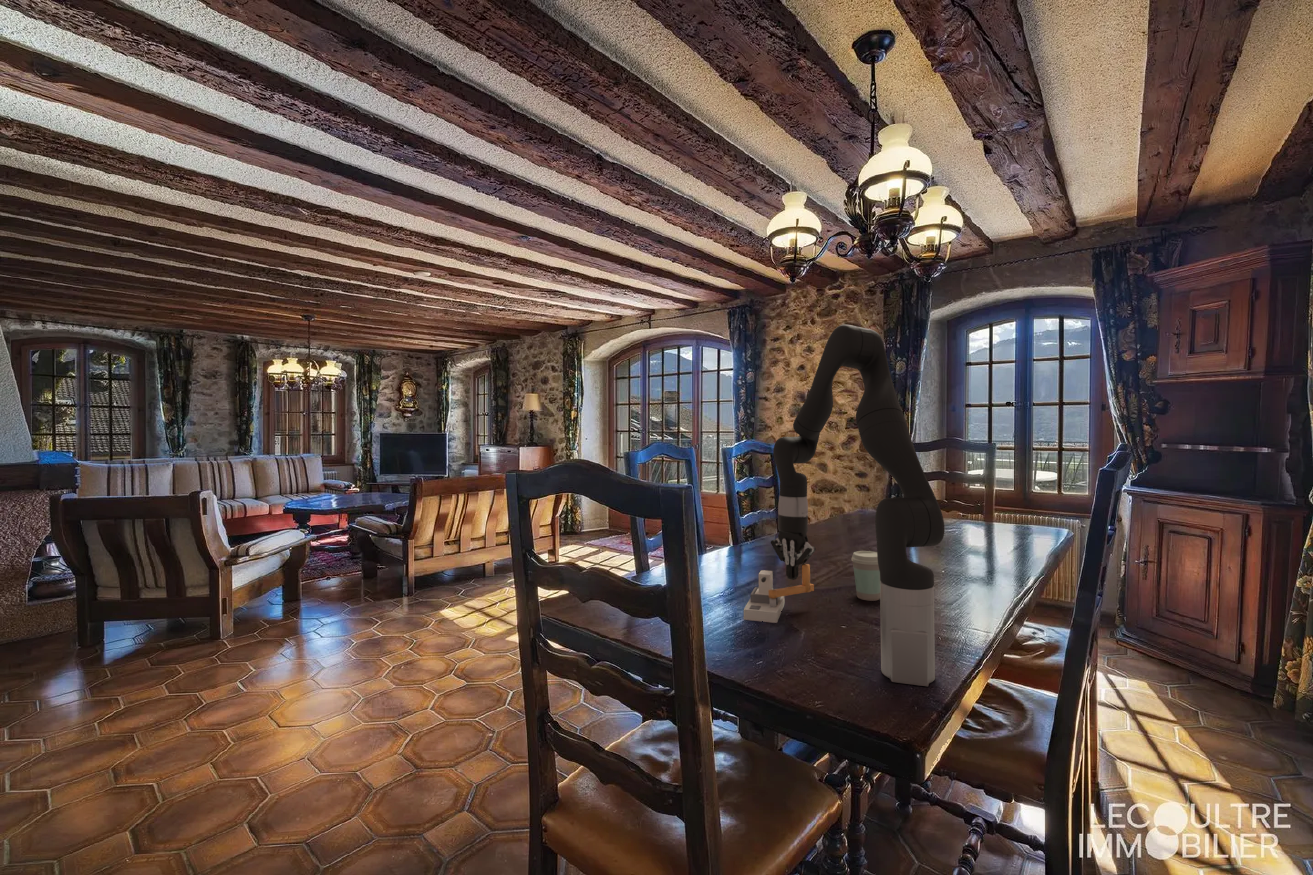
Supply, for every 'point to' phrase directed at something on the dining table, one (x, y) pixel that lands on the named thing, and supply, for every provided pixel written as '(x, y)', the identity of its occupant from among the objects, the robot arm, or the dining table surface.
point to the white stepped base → (763, 607)
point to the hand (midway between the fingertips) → (792, 578)
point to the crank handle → (798, 589)
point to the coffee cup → (866, 575)
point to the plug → (765, 582)
